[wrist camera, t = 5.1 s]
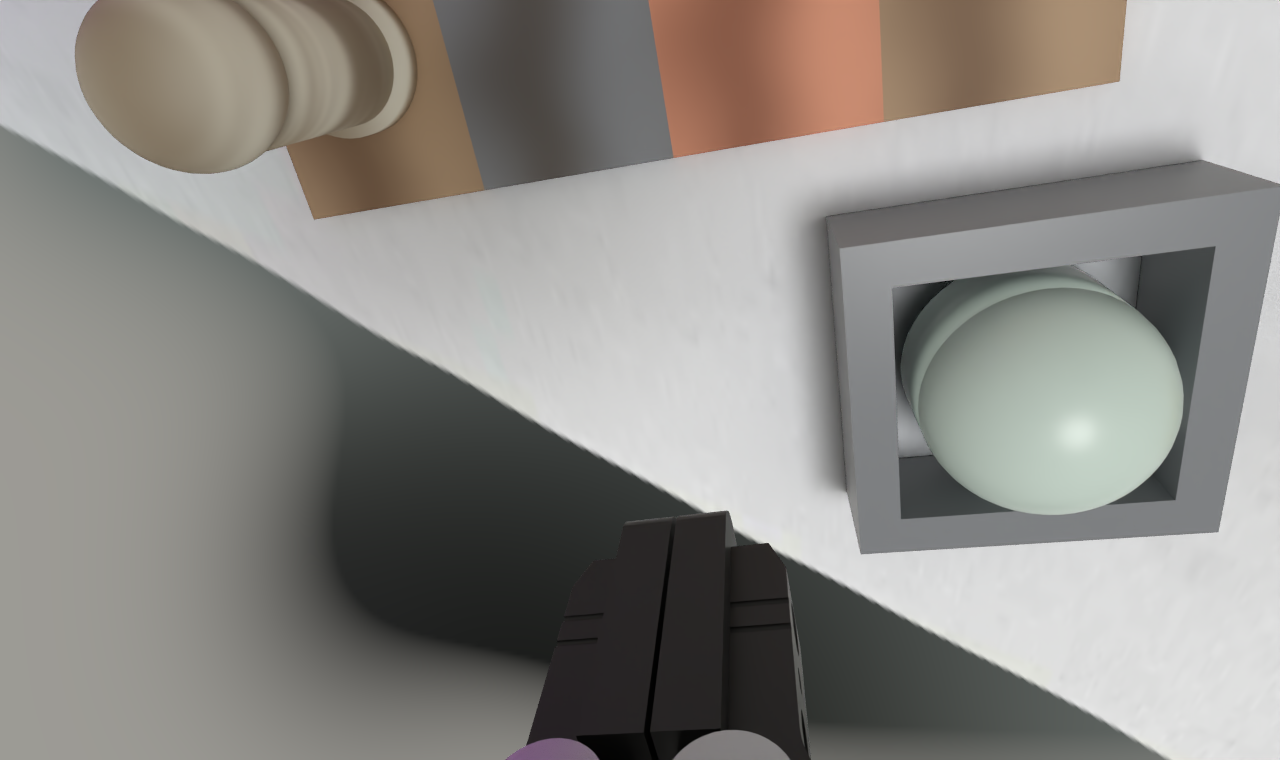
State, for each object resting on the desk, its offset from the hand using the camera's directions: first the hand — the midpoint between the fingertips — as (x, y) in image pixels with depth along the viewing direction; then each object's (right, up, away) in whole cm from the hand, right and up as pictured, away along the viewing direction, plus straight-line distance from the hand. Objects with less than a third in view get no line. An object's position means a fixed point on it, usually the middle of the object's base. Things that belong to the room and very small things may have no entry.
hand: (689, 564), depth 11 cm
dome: (+13, +4, +17) cm, 21 cm away
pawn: (-11, +14, +14) cm, 22 cm away
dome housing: (+13, +4, +17) cm, 21 cm away
